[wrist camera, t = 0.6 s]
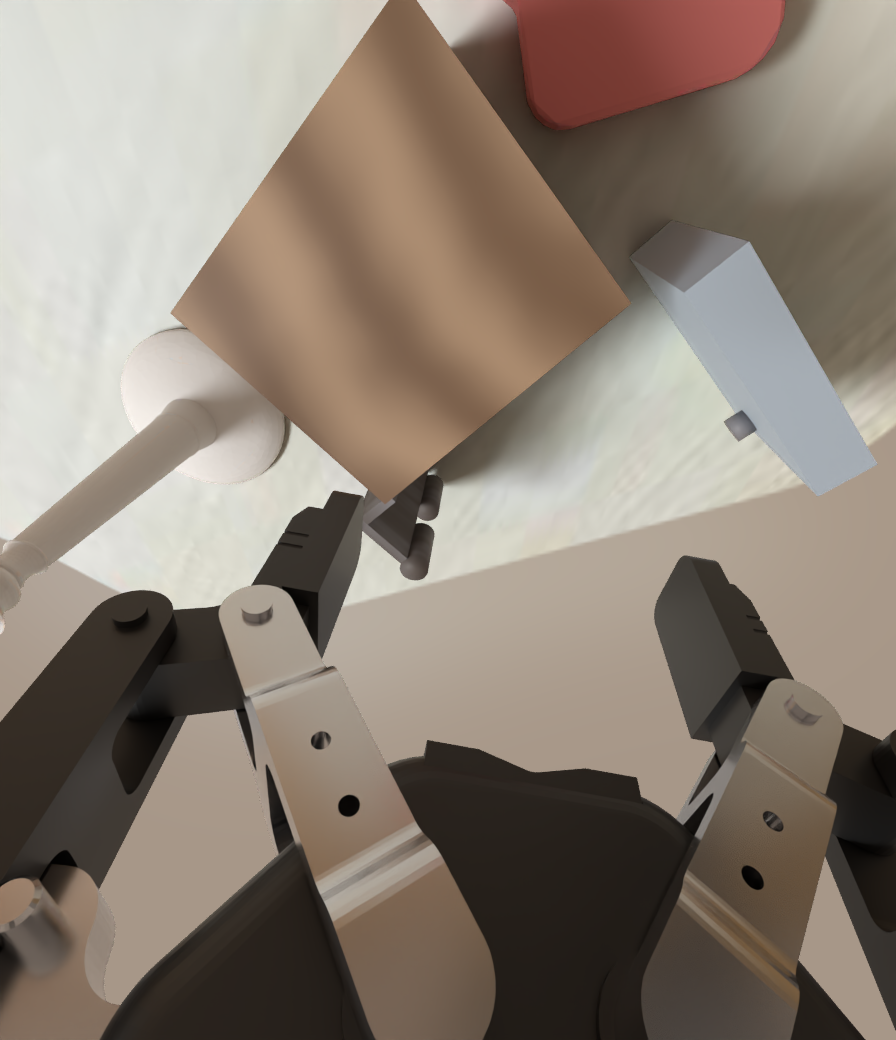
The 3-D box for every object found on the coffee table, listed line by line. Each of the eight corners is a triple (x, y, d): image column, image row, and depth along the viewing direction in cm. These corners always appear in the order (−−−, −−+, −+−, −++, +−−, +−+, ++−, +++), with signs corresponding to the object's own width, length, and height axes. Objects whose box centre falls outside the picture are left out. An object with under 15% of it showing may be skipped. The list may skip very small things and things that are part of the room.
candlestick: (317, 439, 42) (55, 820, 17) (208, 503, 47) (-124, 878, 22) (202, 294, 37) (-424, 549, 12) (91, 382, 41) (-533, 702, 16)
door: (671, 220, 32) (749, 241, 22) (775, 386, 37) (877, 464, 27) (612, 270, 34) (659, 311, 24) (719, 422, 39) (795, 508, 29)
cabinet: (439, 53, 28) (402, -20, 18) (638, 330, 36) (699, 398, 25) (240, 309, 37) (134, 365, 26) (433, 491, 44) (411, 594, 33)
